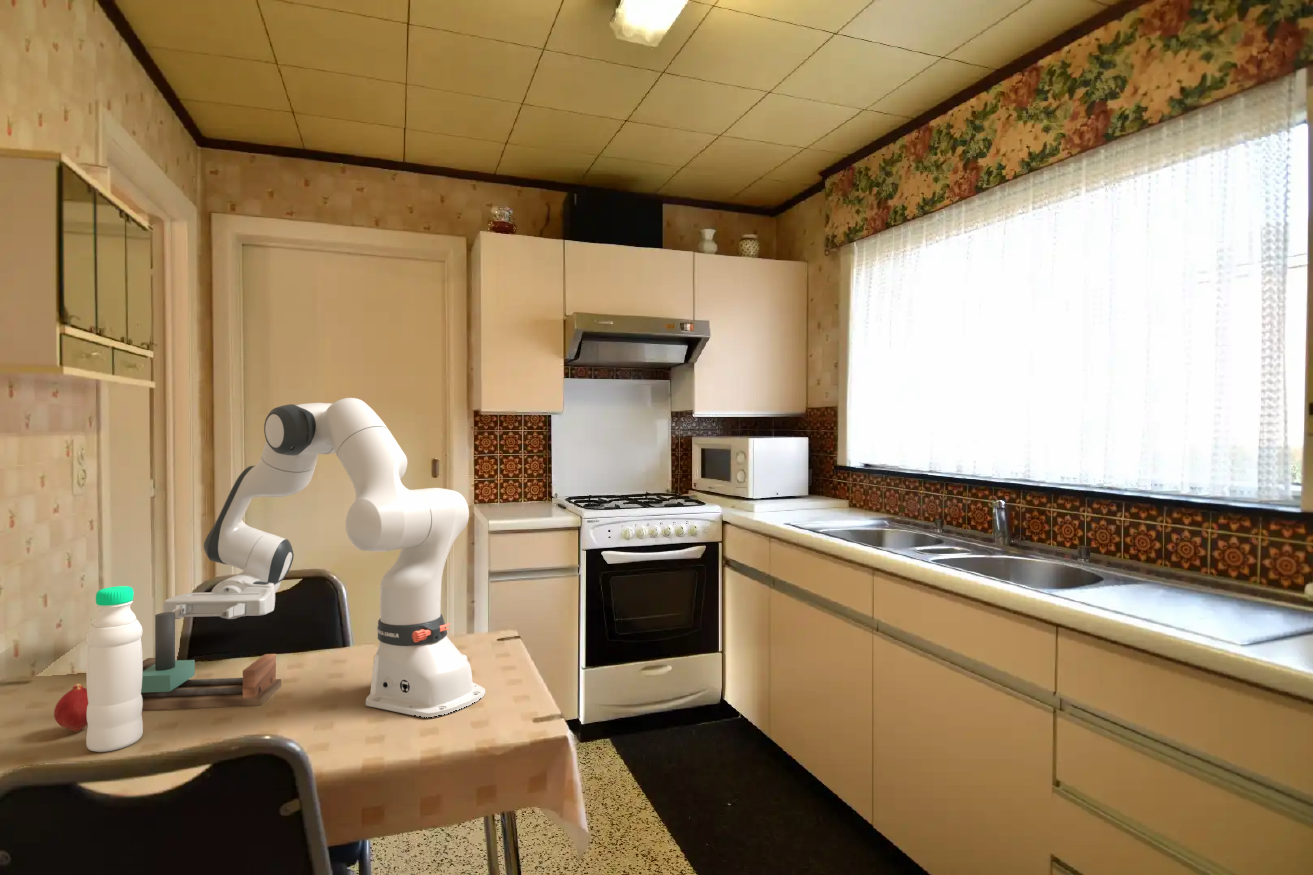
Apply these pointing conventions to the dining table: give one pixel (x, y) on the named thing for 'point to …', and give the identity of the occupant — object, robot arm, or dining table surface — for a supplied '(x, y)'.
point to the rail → (218, 689)
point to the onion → (72, 709)
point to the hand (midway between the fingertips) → (200, 614)
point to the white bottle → (114, 673)
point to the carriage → (166, 659)
